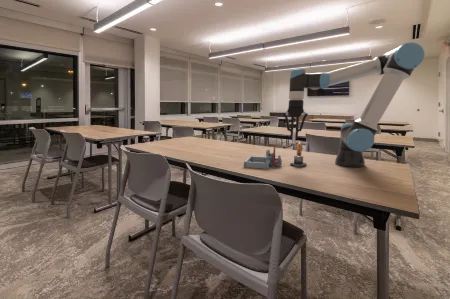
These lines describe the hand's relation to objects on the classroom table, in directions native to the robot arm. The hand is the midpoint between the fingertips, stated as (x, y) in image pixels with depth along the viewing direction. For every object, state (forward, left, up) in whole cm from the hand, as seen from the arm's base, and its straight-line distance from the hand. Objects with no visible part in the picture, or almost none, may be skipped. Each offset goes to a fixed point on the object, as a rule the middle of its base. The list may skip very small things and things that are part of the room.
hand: (293, 143), depth 138 cm
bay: (+19, 0, -13) cm, 23 cm away
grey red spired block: (+11, 0, -13) cm, 17 cm away
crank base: (-3, -5, -13) cm, 14 cm away
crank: (-3, -9, -12) cm, 15 cm away
